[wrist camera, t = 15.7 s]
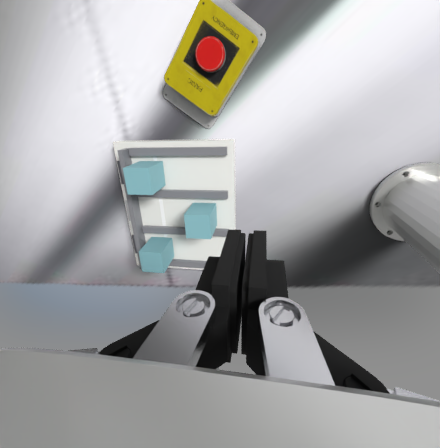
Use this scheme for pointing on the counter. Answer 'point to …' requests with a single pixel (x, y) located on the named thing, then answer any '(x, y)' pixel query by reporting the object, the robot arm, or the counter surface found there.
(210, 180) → the white ridged tray
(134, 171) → the teal rectangular block
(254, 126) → the counter surface
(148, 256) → the teal rectangular block
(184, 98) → the emergency button
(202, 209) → the light teal block
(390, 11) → the counter surface
